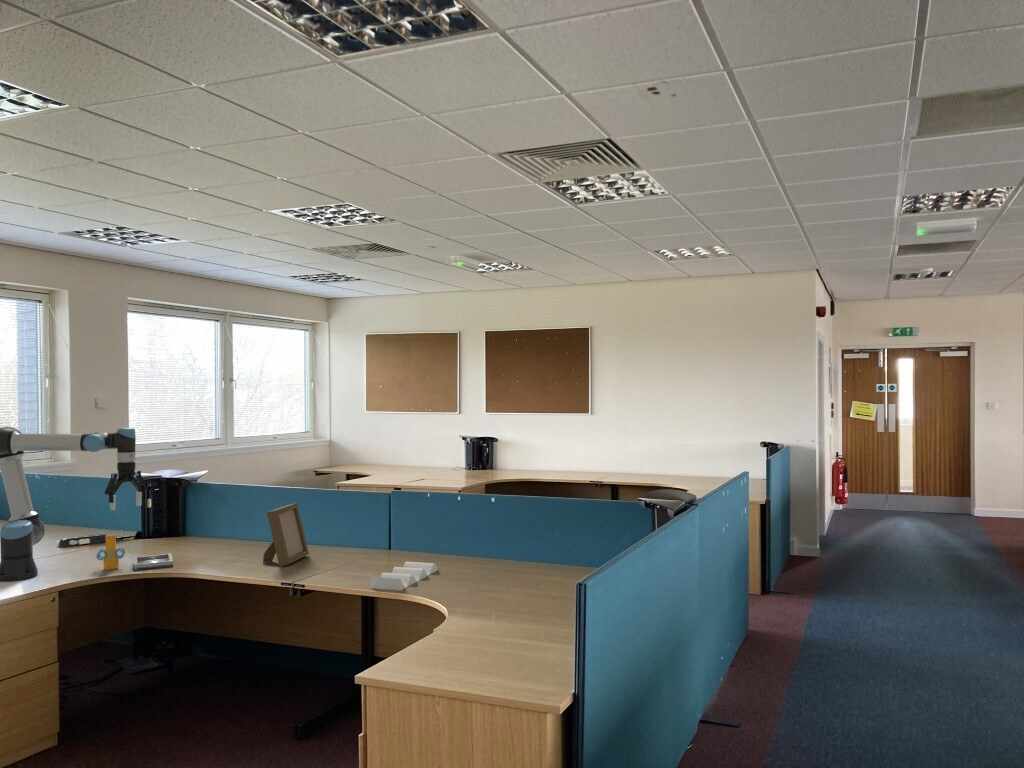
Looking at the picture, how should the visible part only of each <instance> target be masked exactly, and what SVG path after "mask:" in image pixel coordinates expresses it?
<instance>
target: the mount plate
mask: <svg viewBox="0 0 1024 768" xmlns="http://www.w3.org/2000/svg"><path fill="white" fill-rule="evenodd" d="M170 567H173V568H174V558H173V553H164V554H163V553H161V554H152V555H143V556H133V571H144V570H152V569H162V568H170Z"/></svg>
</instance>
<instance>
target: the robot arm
mask: <svg viewBox="0 0 1024 768" xmlns="http://www.w3.org/2000/svg"><path fill="white" fill-rule="evenodd" d="M136 440H137V437H136V428H134V427H119V428H117V430H116V432H115V431H113V432H101V431H100V432H99V431H98V432H97V431H96V432H90V433H28V432H27V433H22V432H21V431H20V430H19V429H18V428H15V427H13V426H2V427H0V473H1V477H2V482H3V487H4V491H5V494H6V495H5V496H6V499H7V503H8V508H9V512H10V517H9V519H8V522H6V523H3V524H2V525H1V526H0V582H12V581H14V582H16V581H20V580H21V581H22V580H26V579H31V578H34V577H37V576H38V573H39V572H38V571H39V569H38V567H37V566H38V565H36V562H35V560H34V553H33V552H34V551H33V549H34V548H33V547H34V545H37V544H38V543H40V541H41V540H42V539H43V538H44V536H45V534H46V526H45V523H44V522H43V521H42V520H41V519H40V516H39V512H37V511H35V510H34V506H33V502H32V499H31V494H30V493H31V492H30V490H29V485H28V482H27V476H26V472H25V468H24V464H23V461H22V458H23V456H24V455H25V452H77V451H78V452H92V453H94V452H100V451H102V450H116V451H117V453H116V456H117V457H116V461H117V463H116V464H117V465H116V469H117V473H116V472H114V473H113V472H112V473H111V474H110V479H109V481H108V484H107V487H105V491H104V495H107V496H108V502H109V510H111V511H116V509H117V507H116V503H117V502H116V499H117V497H116V492H117V491H118V489H119V488H120V487H121V486H122V484H124V483H127V482H128V483H129V482H130V483H131V484H132V485H133V486H134V488H135V489H136V490H137V491H136V495H135V497H136V498H135V499H136V500H135V503H136V504H135V506H136V507H142V504H143V503H142V500H143V498H144V495H143V494H144V492H145V490H146V491H147V489H148V487H147V486H146V483H145V481H144V478H143V476H142V471H141V470H136V462H135V461H136V445H137V444H136V442H137V441H136Z"/></svg>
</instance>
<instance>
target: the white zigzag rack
mask: <svg viewBox="0 0 1024 768" xmlns="http://www.w3.org/2000/svg"><path fill="white" fill-rule="evenodd" d="M438 571H439V568H438V567H437V565H436V563H432V562H431V563H430V562H418V561H417V562H416V561H405V562H404V565H403V567H402V566H394V567H393V569H392V571H391V572H382V573H381V574H380V575H379V576H380V577H379V576H370V589H379V590H387V591H389V590H390V591H391V590H392V591H400V592H401V591H403V590H404V589H406V588H408V587H410V586H412V585H413V584H416V583H417V582H419V581H421V580H422V579H425V578H426V577H428V576H431V575H432V574H434V573H436V572H438Z"/></svg>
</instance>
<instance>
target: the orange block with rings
mask: <svg viewBox="0 0 1024 768" xmlns="http://www.w3.org/2000/svg"><path fill="white" fill-rule="evenodd" d="M116 535H117V534H115V533H110V534H106V535H105V549H104V548H101V549H99V550H98V552H97V553H96V559H97V560H98V561H103V570H106V571H107V570H108V571H109V570H115V569H116V570H117V569H119V567H120V566H119V561H120V559H123V558H124V556H125V548H124V547H118V548H117V540H116V539H117V537H116ZM118 552H121V554H118ZM101 553H103V554H104V556H101Z"/></svg>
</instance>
